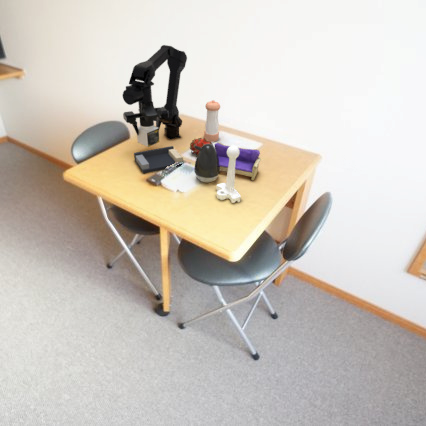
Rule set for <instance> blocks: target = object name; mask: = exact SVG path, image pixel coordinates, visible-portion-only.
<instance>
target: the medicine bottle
mask: <svg viewBox="0 0 426 426" xmlns="http://www.w3.org/2000/svg"><path fill="white" fill-rule="evenodd" d="M137 127H138V132H139V135H137V134H136V140H137V143H138V144H140V145H142V146H144V147H147V148H150V147H152V146H154V145H157V144H159V143H160V129H159V128H158V127H156V125H155V121H150V122H147V121H146V120H145V118H144V117H142V118H139V126H137Z"/></svg>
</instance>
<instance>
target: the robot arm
mask: <svg viewBox="0 0 426 426" xmlns="http://www.w3.org/2000/svg"><path fill="white" fill-rule="evenodd" d="M187 61H188V56H187V54H186V52H185V51H184V50H179V49H178V48H175V47H173V46H172V45H166V44H163V45H161V46H160V48H159V49H158V50H157V51H156V52H155V53H153V55H152V56H150V57H149V58H148V59H147V60H145V61H142V62H138V63H137V64H135V65H134V66H133V68H132V73H131V75H130V78H129V81H128V85H126V86H125V90H123V92H122V99H123V101H124V102H125V104H127V105H129V106H131V105H134V104H138V112H137V113H135V112H133V111H132V110H131V111H124V112H123V114H122V115H123V116H122V117H123V120H124V121H125V122H126V123H127V124H130V125H132V127H133V129H134V131H135V133H136V136H137V135H139V132H138V127H139V126H138V122H137V119H140V118H142V117H144V118H145V120H146V121H147V122H150V121H154V122H155V126H156V127H158V128H159V130H160V128H161V125H165V126H164V128H163V129H164V134H163V135H164V136H165V137H166V138H167V140H169V141H170V140H175V139H180V138H181V135H180V128H181V127H182V125H183V119H181V117H180V116H179V115H180V111H179V109H178V108H179V107H178V106H177V105H178V95H179V89H180V81H181V73H182V72H183V71H184V69H185V68H186V65H187ZM164 63H166V64H167V67H168V69H169V75H168V83H167V91H166V92H167V93H166V100H165V104H164V105H163V106H161V107H160V106H159V107H155V106H154V101H153V95H152V94H153V93H152V86H154V85H155V83H154V82H153V79H154V78H155V76H156V71H157V70H158V69H159V68H160V67H161V66H163V64H164Z"/></svg>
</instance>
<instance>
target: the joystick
mask: <svg viewBox="0 0 426 426" xmlns="http://www.w3.org/2000/svg"><path fill="white" fill-rule="evenodd" d="M229 146H230V147H229V148H228V149H227V155H228V157H229V165H228V172H227V171H226V172H227V174H226V178H225V179H226V180H225V182H221V183H217V184H216V198H217V199H218V200H219V201H220V200H221V201H224V200H227V199H229V200H230V202H231V203H232V204H235V203H240V202H241V197H242V196H241V194H240V193H239V192H238V190H237V189H235V180H236V173H235V162H236V158H237V157H238V156H239V153H240V151H239V148H240V147H239V146H237V145H229ZM238 147H239V148H238Z"/></svg>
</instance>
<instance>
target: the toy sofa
mask: <svg viewBox="0 0 426 426" xmlns="http://www.w3.org/2000/svg"><path fill="white" fill-rule="evenodd" d="M213 146H214V147H215V149H216V151H217V154H218V158H219V163H220V171H223V172H228V165H229V157H228V155H227V149H228V148H229V147H230V146H231V145H227V144H224V143H222V142H220V141H216V143H214V144H213ZM237 147H238V148H239V151H240V153H239V156H238V157H237V158H236V162H235V175H241V176H246V177H251V181H254V180H255V178H256V176H257V174H258V172H259V165H260V163H261V160H262V158H261V157H260V155H261V151H260V149H258V148H245V147H239V146H237Z"/></svg>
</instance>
